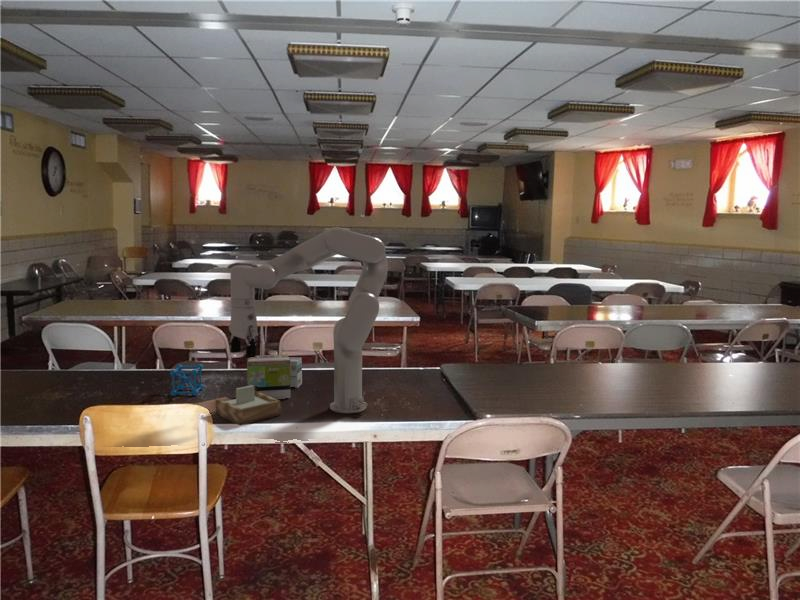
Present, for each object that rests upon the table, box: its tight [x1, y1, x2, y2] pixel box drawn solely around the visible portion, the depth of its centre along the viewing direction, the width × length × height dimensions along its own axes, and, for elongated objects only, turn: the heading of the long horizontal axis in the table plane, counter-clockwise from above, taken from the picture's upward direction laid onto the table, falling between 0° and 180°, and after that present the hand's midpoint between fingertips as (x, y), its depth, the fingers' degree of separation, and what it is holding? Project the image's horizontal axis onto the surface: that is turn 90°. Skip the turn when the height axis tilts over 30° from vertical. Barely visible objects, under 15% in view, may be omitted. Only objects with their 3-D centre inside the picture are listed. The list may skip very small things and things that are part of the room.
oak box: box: [215, 391, 282, 426], centre depth 205 cm, size 16×15×5 cm
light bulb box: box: [288, 356, 303, 389], centre depth 239 cm, size 11×7×11 cm, turn 84°
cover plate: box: [225, 385, 270, 409], centre depth 204 cm, size 13×12×6 cm
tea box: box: [246, 354, 291, 400], centre depth 224 cm, size 15×10×15 cm
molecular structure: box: [169, 363, 205, 397], centre depth 228 cm, size 10×10×10 cm
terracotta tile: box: [194, 396, 232, 414], centre depth 214 cm, size 12×12×1 cm
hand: (243, 354), depth 203 cm, fingers open, 9 cm apart
